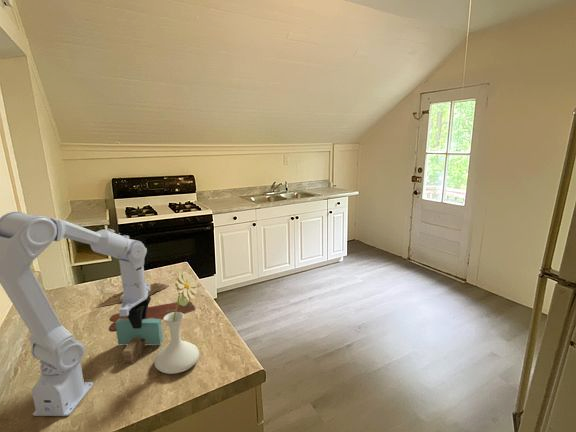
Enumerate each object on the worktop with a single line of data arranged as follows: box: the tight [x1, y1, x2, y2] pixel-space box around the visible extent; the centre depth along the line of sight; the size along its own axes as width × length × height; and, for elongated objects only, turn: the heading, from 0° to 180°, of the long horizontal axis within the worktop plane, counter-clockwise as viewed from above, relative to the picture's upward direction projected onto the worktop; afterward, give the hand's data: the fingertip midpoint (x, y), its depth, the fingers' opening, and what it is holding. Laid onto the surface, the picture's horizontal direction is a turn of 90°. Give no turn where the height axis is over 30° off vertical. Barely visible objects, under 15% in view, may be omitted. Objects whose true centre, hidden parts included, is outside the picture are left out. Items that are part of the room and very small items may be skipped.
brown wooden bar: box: [122, 318, 155, 365], centre depth 93 cm, size 16×2×4 cm, turn 0°
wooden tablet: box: [109, 300, 196, 332], centre depth 110 cm, size 27×10×2 cm, turn 117°
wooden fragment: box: [95, 282, 170, 308], centre depth 123 cm, size 26×11×1 cm, turn 128°
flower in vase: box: [154, 271, 201, 375], centre depth 84 cm, size 13×11×25 cm
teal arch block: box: [115, 319, 164, 346], centre depth 93 cm, size 12×2×7 cm, turn 90°
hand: (139, 325), depth 92 cm, fingers closed on teal arch block, 2 cm apart
